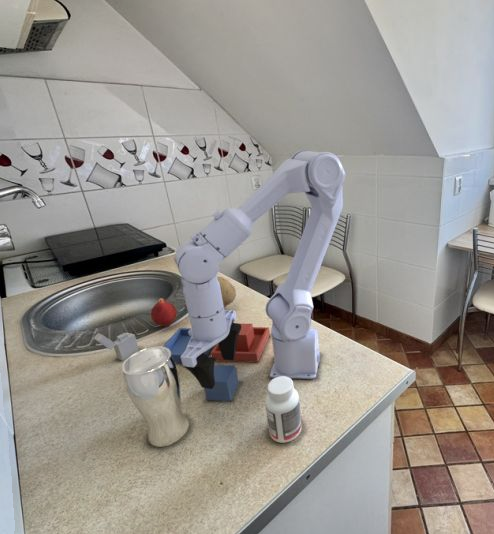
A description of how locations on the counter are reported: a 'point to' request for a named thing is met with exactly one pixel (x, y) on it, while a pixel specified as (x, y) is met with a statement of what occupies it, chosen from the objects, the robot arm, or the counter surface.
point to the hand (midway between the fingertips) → (219, 372)
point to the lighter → (120, 344)
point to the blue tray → (180, 344)
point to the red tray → (255, 350)
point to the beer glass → (156, 394)
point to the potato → (226, 291)
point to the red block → (245, 338)
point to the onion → (163, 313)
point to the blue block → (223, 383)
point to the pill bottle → (283, 410)
